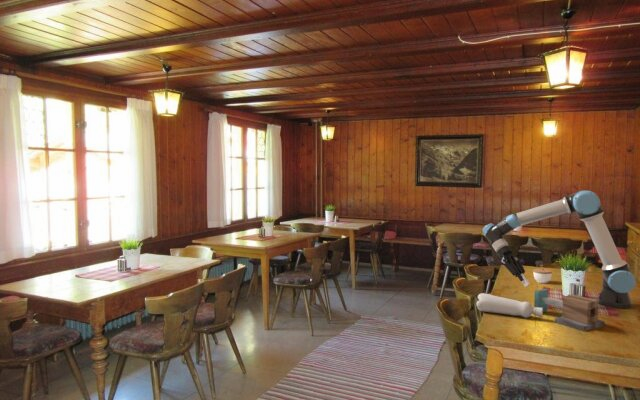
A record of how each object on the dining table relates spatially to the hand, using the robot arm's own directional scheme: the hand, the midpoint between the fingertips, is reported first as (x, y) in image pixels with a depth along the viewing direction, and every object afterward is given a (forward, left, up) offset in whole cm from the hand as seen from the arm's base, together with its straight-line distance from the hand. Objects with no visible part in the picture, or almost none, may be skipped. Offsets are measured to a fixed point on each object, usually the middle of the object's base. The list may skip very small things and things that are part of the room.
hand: (527, 285), depth 240 cm
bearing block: (0, +28, -12) cm, 30 cm away
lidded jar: (-58, -33, -12) cm, 68 cm away
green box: (0, +16, -12) cm, 20 cm away
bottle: (+17, +3, -12) cm, 22 cm away
